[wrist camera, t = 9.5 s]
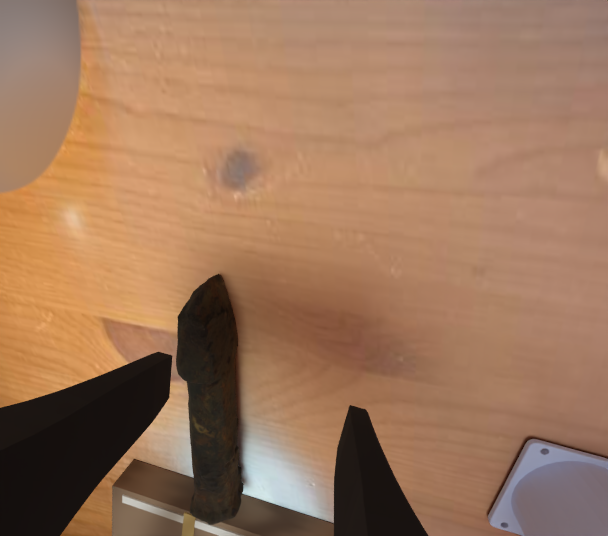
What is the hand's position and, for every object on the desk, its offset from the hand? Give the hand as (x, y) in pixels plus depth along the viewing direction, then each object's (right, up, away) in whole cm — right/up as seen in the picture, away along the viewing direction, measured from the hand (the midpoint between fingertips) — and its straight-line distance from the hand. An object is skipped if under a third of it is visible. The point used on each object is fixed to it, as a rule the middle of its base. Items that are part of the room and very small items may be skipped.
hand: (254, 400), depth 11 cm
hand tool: (-5, -4, +12) cm, 14 cm away
